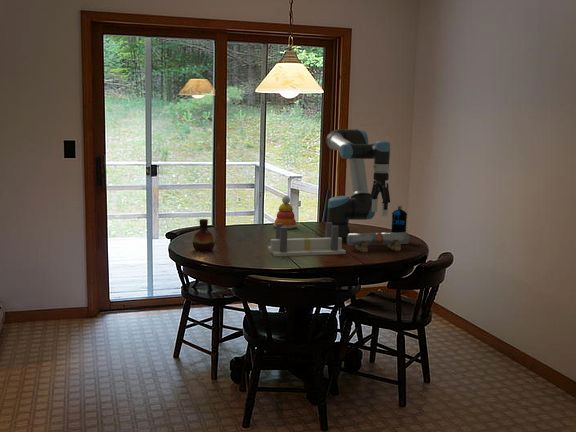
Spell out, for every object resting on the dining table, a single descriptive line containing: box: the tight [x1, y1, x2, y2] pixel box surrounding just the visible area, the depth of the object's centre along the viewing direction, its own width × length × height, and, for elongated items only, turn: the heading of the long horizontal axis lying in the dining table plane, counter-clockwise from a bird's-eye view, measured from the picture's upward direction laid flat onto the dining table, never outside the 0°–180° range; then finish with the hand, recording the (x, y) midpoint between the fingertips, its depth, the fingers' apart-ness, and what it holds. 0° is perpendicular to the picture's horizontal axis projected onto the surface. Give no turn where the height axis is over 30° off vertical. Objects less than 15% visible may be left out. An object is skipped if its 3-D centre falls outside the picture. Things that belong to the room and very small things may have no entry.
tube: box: [346, 231, 410, 246], centre depth 317 cm, size 32×6×6 cm, turn 104°
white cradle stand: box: [267, 221, 347, 257], centre depth 308 cm, size 16×36×14 cm, turn 104°
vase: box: [191, 218, 216, 253], centre depth 305 cm, size 11×11×15 cm
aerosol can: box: [390, 205, 408, 233], centre depth 335 cm, size 8×8×20 cm
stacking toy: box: [273, 195, 298, 230], centre depth 371 cm, size 14×14×20 cm
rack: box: [354, 241, 402, 253], centre depth 318 cm, size 10×21×4 cm, turn 104°
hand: (379, 213), depth 315 cm, fingers open, 13 cm apart
